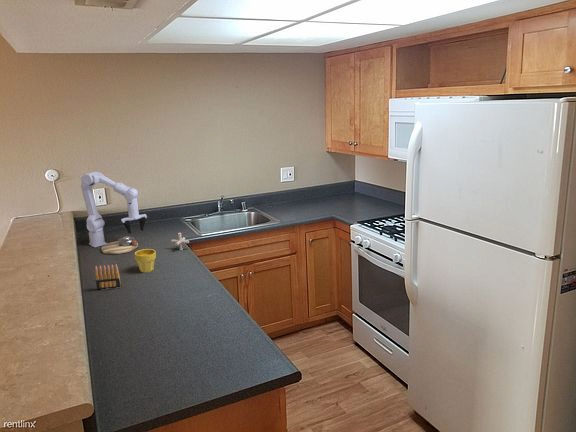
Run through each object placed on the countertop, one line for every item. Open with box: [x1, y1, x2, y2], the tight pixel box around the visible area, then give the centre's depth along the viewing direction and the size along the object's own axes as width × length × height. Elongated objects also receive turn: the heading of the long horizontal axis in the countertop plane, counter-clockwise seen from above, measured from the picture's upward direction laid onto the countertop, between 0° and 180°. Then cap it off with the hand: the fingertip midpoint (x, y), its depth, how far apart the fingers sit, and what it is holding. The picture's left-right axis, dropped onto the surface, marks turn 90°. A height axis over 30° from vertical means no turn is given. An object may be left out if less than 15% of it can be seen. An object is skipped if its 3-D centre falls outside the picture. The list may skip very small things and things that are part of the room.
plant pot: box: [134, 248, 157, 273], centre depth 231 cm, size 10×10×10 cm
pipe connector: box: [171, 232, 190, 251], centre depth 260 cm, size 10×10×10 cm
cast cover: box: [117, 235, 136, 246], centre depth 267 cm, size 9×9×4 cm
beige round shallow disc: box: [100, 239, 139, 255], centre depth 264 cm, size 20×20×4 cm
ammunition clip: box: [94, 263, 122, 290], centre depth 210 cm, size 11×2×12 cm, turn 101°
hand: (135, 231), depth 266 cm, fingers open, 7 cm apart
